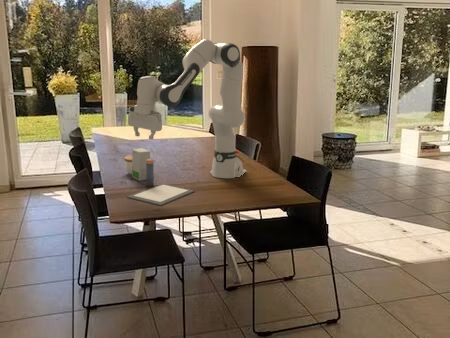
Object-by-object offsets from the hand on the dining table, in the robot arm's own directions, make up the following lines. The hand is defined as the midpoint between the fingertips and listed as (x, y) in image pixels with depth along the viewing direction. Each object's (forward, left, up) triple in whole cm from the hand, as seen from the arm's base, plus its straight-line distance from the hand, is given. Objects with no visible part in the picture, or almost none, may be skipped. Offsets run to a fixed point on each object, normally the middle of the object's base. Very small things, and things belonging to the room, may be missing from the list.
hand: (144, 137), depth 231 cm
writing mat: (+6, +15, -25) cm, 30 cm away
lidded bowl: (-16, -21, -25) cm, 36 cm away
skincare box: (-10, -12, -25) cm, 30 cm away
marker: (-2, +1, -25) cm, 25 cm away
